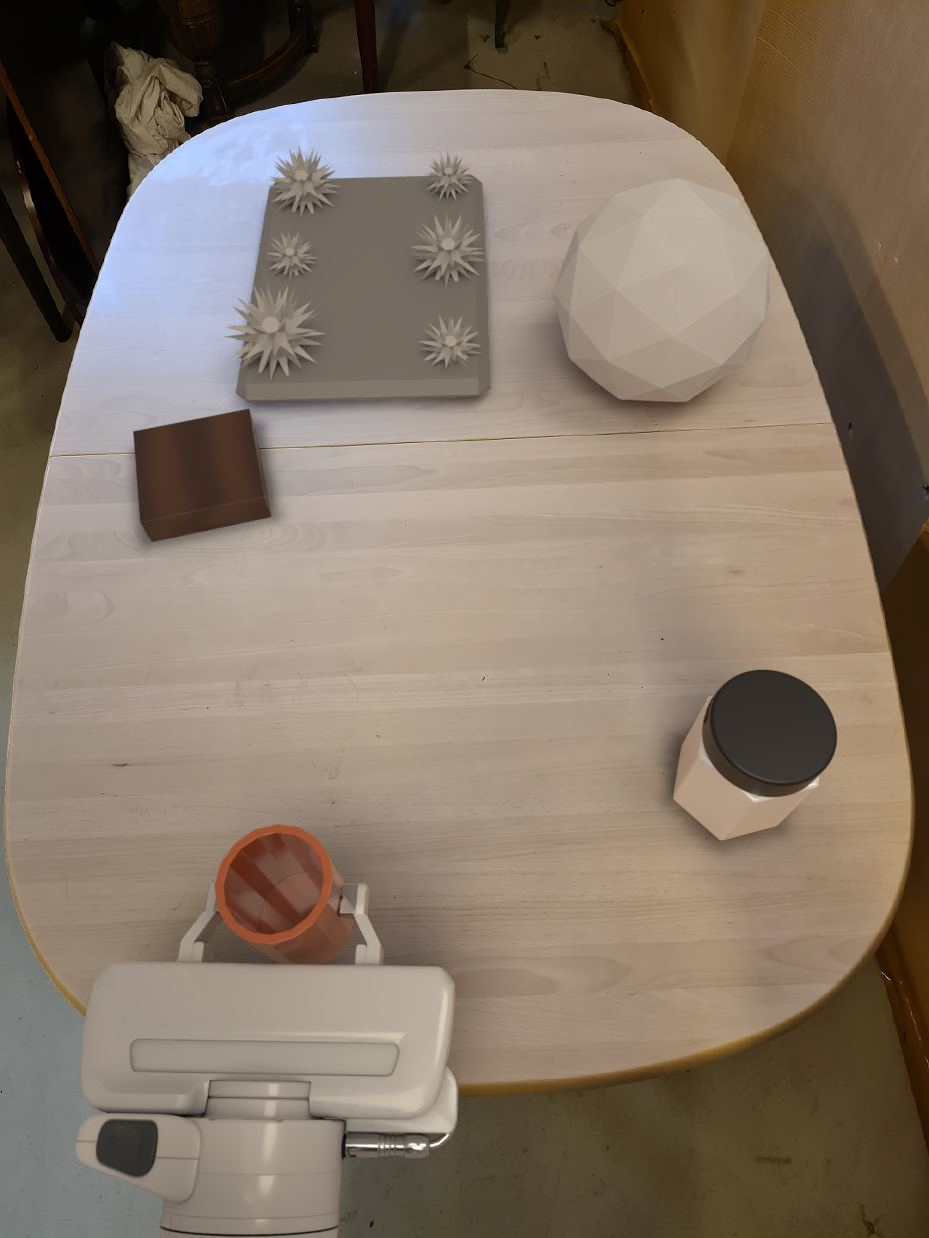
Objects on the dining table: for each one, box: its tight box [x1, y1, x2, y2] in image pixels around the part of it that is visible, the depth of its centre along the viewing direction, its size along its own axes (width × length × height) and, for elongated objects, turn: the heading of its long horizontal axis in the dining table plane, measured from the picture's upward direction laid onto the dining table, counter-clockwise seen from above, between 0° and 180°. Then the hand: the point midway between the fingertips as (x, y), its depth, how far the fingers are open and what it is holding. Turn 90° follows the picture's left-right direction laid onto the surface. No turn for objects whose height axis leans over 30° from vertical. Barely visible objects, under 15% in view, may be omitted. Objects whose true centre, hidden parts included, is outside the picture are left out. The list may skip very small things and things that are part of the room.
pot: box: [215, 823, 355, 964], centre depth 51 cm, size 6×6×10 cm
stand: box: [132, 408, 272, 543], centre depth 80 cm, size 11×11×3 cm
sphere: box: [551, 176, 771, 403], centre depth 79 cm, size 19×20×20 cm
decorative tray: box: [223, 146, 491, 403], centre depth 90 cm, size 35×26×10 cm
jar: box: [672, 669, 838, 842], centre depth 60 cm, size 9×8×12 cm
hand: (290, 884), depth 51 cm, fingers closed on pot, 6 cm apart
